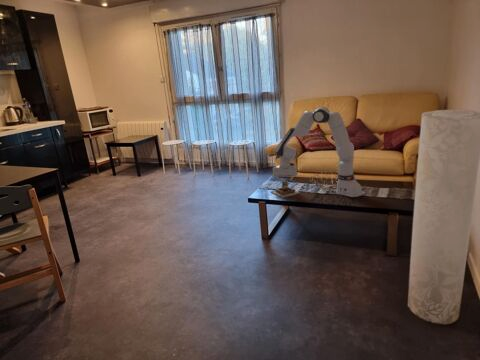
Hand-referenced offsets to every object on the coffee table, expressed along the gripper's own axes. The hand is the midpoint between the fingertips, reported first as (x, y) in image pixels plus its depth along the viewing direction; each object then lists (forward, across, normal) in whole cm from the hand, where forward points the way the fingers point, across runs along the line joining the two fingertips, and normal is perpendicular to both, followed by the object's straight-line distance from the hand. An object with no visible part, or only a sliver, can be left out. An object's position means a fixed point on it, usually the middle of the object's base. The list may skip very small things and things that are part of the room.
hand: (285, 180), depth 273 cm
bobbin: (+7, 0, +5) cm, 9 cm away
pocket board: (+8, 0, +6) cm, 10 cm away
